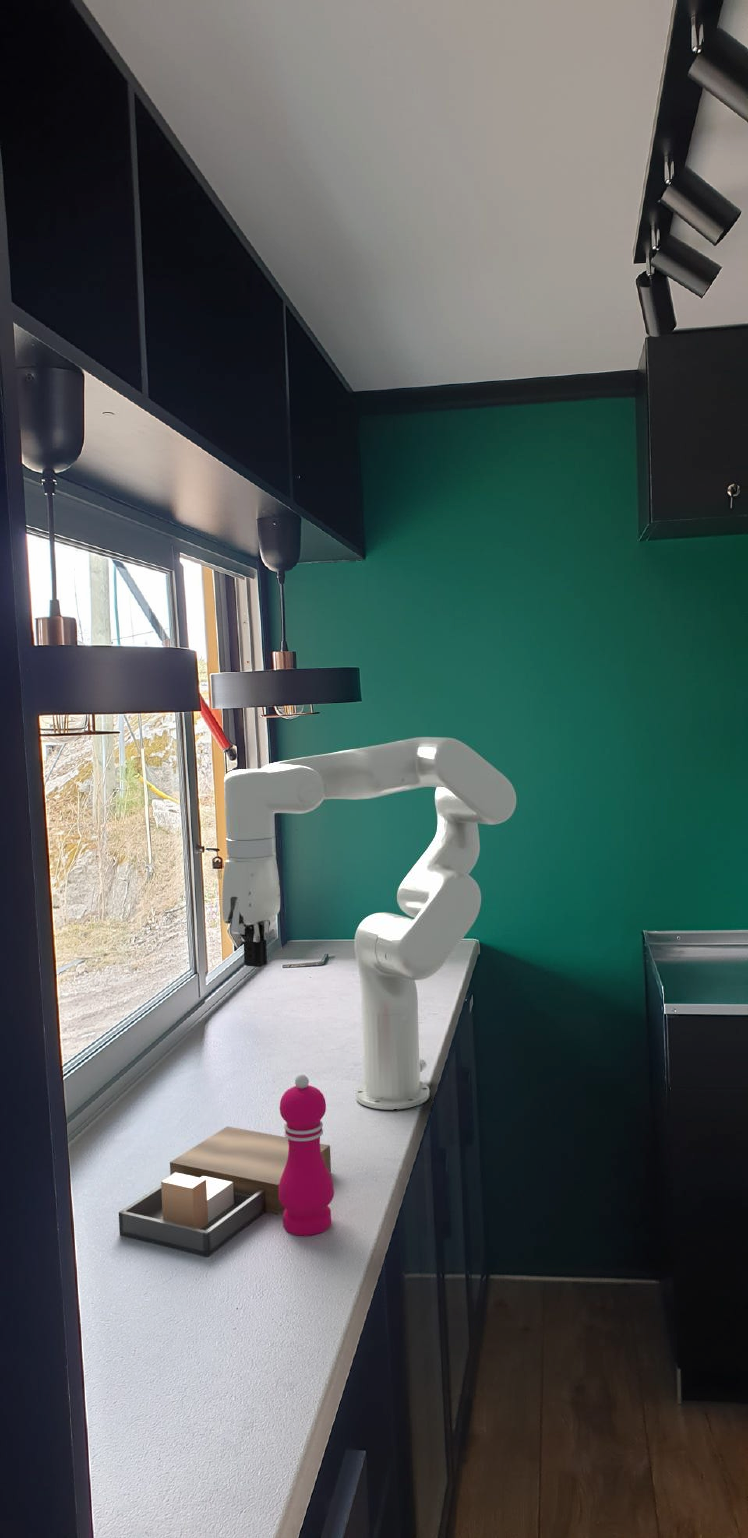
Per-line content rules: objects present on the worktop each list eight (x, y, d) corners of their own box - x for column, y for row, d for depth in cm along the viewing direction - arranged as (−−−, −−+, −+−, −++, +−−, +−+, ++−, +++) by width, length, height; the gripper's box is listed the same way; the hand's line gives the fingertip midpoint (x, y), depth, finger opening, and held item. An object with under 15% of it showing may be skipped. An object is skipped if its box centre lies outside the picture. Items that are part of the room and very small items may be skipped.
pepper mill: (305, 1206, 151) (300, 1062, 149) (346, 1221, 146) (340, 1072, 145) (268, 1227, 145) (261, 1077, 144) (308, 1243, 141) (303, 1089, 139)
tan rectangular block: (175, 1172, 147) (161, 1181, 145) (206, 1178, 145) (192, 1188, 142) (177, 1216, 148) (163, 1226, 145) (208, 1223, 146) (194, 1233, 143)
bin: (181, 1193, 156) (180, 1172, 156) (265, 1211, 150) (264, 1190, 149) (119, 1234, 145) (118, 1212, 144) (207, 1256, 138) (206, 1233, 138)
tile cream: (203, 1196, 153) (202, 1175, 153) (233, 1203, 151) (233, 1181, 151) (176, 1215, 148) (175, 1193, 148) (207, 1222, 146) (206, 1200, 145)
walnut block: (228, 1151, 170) (227, 1126, 169) (330, 1172, 161) (330, 1145, 161) (171, 1189, 157) (169, 1162, 157) (279, 1213, 149) (278, 1184, 149)
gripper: (257, 841, 181) (262, 952, 183) (202, 855, 168) (207, 974, 169) (296, 843, 178) (301, 956, 179) (244, 857, 165) (249, 979, 166)
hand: (255, 964), depth 174 cm, fingers closed
